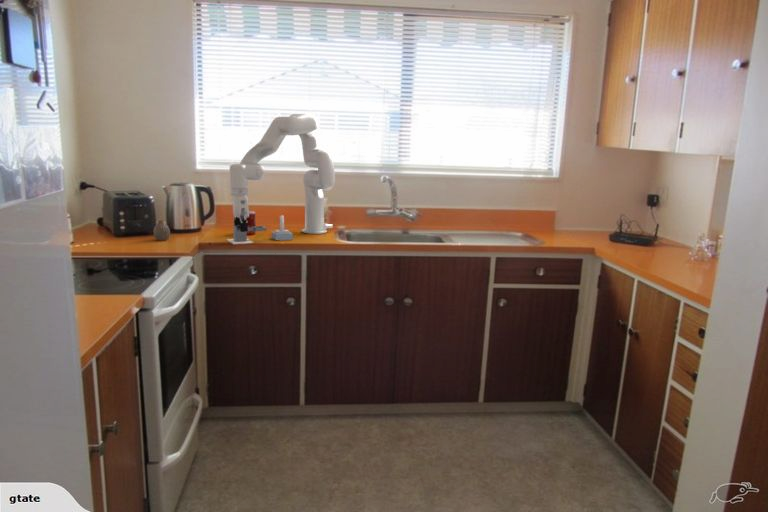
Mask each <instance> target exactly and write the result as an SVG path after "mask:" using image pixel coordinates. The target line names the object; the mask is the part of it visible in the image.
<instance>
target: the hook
mask: <svg viewBox="0 0 768 512" xmlns="http://www.w3.org/2000/svg"><path fill="white" fill-rule="evenodd" d="M232 226H233V227H232V228H233V230H232V231H233V232H232V233H233V235H232V236H233V238H232V239H234V241H235V242H241V241H247V239H248V235H247V231H246V232H241V231H240V225H234V224H233V225H232ZM248 231H256V232H266V231H267V227H266V226H263V225H261V226H260V225H258V226H257V225H256V226H254V227H248Z"/></svg>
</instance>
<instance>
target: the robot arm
mask: <svg viewBox="0 0 768 512" xmlns="http://www.w3.org/2000/svg"><path fill="white" fill-rule="evenodd" d="M318 126H319V119H318V118H317V116H316V115H315V114H313V113H293V114H291V115H289V116H277V117H275V118H274V119H273V120H272V122H271V123H270V125H268V127H267V130H266V131H265V133H264V135H262V137H261V139H260V140H259V142H257V143H256V144H255V145H254V146H253V147H252V148H250V149H249V150H248V151H247V152H246V153H245V154H244V156H243V157H242V159H241V161H240V162H239V163H234V164H230V165H229V180H230V181H229V186H230V196H231V197H232V214H233V225H240V231H241V232H246V231H248V224H247V218H248V217H249V211H250V210H249V202H248V196H249V187H248V185H249V184H248V181H249V180H250V181H261V180H262V179H263V178H264V177H265V176H266V167H264V166H263V165H262V164H259V162H261V161H262V160H263V159H265V158H266V157H269V156H272V155H273V154H275V153H276V152H277V151H278V150H279V148H280V146H281V145H282V143H283V141H284V140H285V138H286V136H299V137H300V140H301V146H302V155H303V163H304V164H305V165H306V166H307V167H309V168H313V169H309V170H307V171H306V172H305V173H304V174H303V177H302V178H303V179H302V180H303V181H302V182H303V187H304V199H305V200H304V228H302V230H301V232H302V233H303V234H308V235H309V234H311V235H317V234H321V235H322V234H326V233H327V232H328V231H327V229H332V228H334V226H333V224H332V223H331V224H330V223H325V195H324V192H323V191H329V190H332V189H333V188H334V186H335V185H336V184H335V183H336V174H335V173H336V172H335V165H334V164H335V163H334V157H333V155H332V152H331V151H330V150H328V149H327V148H323V147H322V148H321V146H320V139H319V136H318V133H317V129H318ZM315 168H316V169H315ZM242 218H243V219H242Z"/></svg>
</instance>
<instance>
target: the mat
mask: <svg viewBox="0 0 768 512" xmlns="http://www.w3.org/2000/svg"><path fill="white" fill-rule="evenodd" d="M226 240H227V241H228V242H229V243H231V244H232V245H244V244H245V245H247V244H254V241H252V240H251V239H249V238H247V240H249V241H241V242H235V241H234V239H233V238H228V239H226Z"/></svg>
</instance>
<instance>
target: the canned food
mask: <svg viewBox="0 0 768 512" xmlns="http://www.w3.org/2000/svg"><path fill="white" fill-rule="evenodd" d="M242 219H243V218H242ZM247 224H248V227H254V226H257V225H256V211H253V210H249V217H248V218H247ZM256 232H257V231H247V236H254V235H255V234H256Z"/></svg>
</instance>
